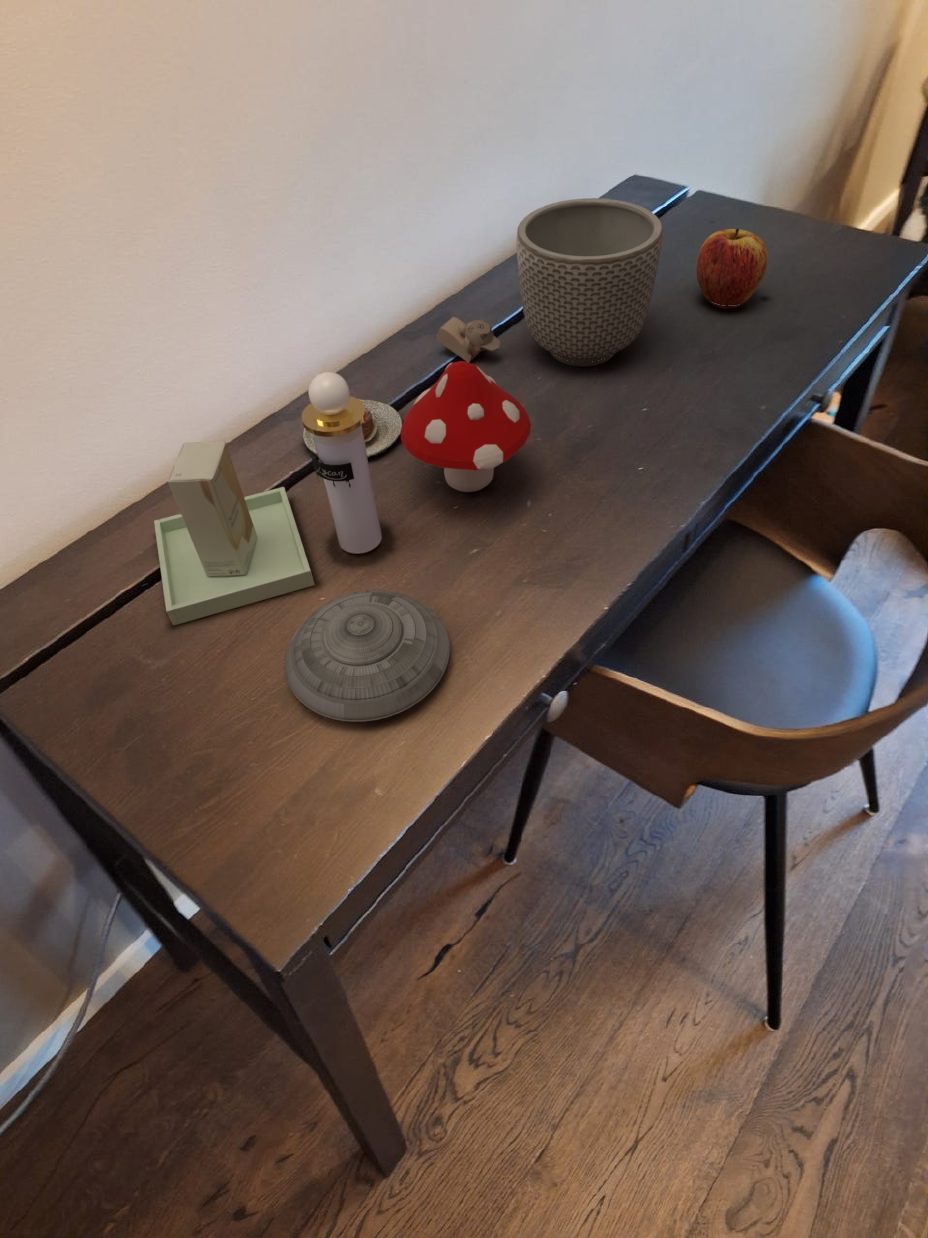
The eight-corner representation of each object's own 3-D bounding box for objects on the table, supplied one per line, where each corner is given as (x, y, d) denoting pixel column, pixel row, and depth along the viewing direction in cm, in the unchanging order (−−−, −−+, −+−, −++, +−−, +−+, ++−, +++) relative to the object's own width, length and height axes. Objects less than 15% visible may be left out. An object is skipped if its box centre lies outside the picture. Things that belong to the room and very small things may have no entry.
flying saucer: (367, 580, 82) (358, 540, 78) (484, 649, 75) (481, 609, 71) (254, 676, 74) (238, 637, 70) (372, 761, 67) (361, 724, 63)
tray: (173, 625, 79) (166, 611, 78) (160, 535, 88) (153, 520, 87) (315, 585, 82) (310, 570, 80) (288, 500, 91) (283, 486, 89)
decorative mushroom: (447, 432, 97) (435, 315, 86) (552, 460, 93) (555, 340, 81) (385, 503, 89) (364, 383, 78) (497, 538, 85) (492, 415, 73)
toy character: (479, 381, 108) (494, 348, 103) (431, 347, 109) (443, 312, 104) (495, 366, 110) (509, 333, 105) (448, 332, 111) (460, 298, 106)
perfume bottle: (349, 520, 88) (312, 353, 73) (397, 531, 86) (369, 362, 71) (324, 555, 84) (280, 387, 70) (373, 568, 83) (339, 398, 68)
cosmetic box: (247, 576, 82) (212, 481, 73) (205, 578, 82) (165, 483, 73) (258, 533, 87) (226, 438, 77) (219, 535, 87) (182, 440, 78)
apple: (679, 308, 113) (690, 236, 106) (706, 281, 118) (718, 210, 111) (742, 324, 110) (757, 250, 102) (767, 295, 114) (783, 222, 107)
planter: (650, 319, 112) (664, 197, 100) (647, 389, 101) (662, 261, 89) (526, 315, 115) (525, 196, 103) (509, 383, 104) (506, 258, 92)
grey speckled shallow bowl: (323, 404, 103) (315, 372, 100) (414, 410, 101) (409, 377, 98) (291, 462, 96) (282, 429, 92) (388, 470, 93) (383, 436, 90)
